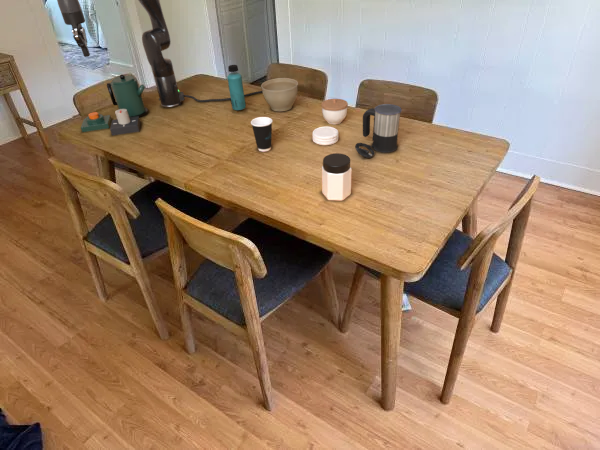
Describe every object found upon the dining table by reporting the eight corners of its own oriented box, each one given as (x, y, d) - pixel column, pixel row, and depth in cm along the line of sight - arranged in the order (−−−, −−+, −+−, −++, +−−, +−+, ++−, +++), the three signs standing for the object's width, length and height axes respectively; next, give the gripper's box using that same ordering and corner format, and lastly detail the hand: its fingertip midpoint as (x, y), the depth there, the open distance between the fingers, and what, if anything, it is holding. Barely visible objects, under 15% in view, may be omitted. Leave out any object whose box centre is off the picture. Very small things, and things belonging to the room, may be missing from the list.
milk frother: (399, 143, 153) (403, 104, 144) (392, 163, 142) (396, 122, 133) (361, 139, 157) (363, 101, 148) (352, 158, 146) (353, 119, 137)
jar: (334, 183, 133) (334, 149, 126) (355, 191, 129) (356, 157, 122) (317, 195, 128) (316, 161, 121) (338, 204, 124) (338, 169, 116)
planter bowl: (278, 99, 195) (276, 75, 189) (306, 105, 187) (305, 81, 181) (256, 110, 185) (253, 86, 178) (284, 117, 177) (282, 92, 171)
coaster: (342, 136, 160) (342, 127, 158) (332, 147, 153) (332, 138, 151) (318, 132, 164) (318, 124, 162) (308, 143, 157) (308, 134, 155)
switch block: (111, 119, 185) (108, 111, 183) (109, 128, 177) (106, 119, 175) (86, 123, 183) (82, 114, 181) (82, 132, 176) (79, 123, 173)
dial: (118, 121, 176) (114, 109, 172) (130, 119, 176) (126, 107, 173) (118, 125, 172) (114, 113, 169) (130, 123, 173) (126, 111, 170)
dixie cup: (255, 144, 158) (251, 117, 152) (275, 143, 158) (273, 116, 151) (253, 154, 152) (249, 126, 145) (274, 153, 152) (271, 125, 145)
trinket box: (343, 127, 166) (344, 105, 160) (318, 125, 169) (318, 103, 164) (349, 117, 174) (350, 95, 168) (325, 115, 177) (325, 93, 171)
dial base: (140, 122, 181) (138, 115, 179) (139, 131, 173) (137, 124, 171) (114, 126, 179) (112, 119, 177) (112, 135, 171) (109, 128, 169)
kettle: (158, 109, 192) (148, 70, 181) (145, 120, 182) (133, 79, 171) (123, 108, 195) (111, 69, 184) (109, 119, 185) (94, 79, 174)
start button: (100, 115, 180) (98, 111, 179) (98, 118, 177) (97, 115, 176) (90, 116, 179) (88, 112, 178) (89, 120, 176) (87, 116, 175)
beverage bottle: (247, 107, 188) (242, 62, 176) (245, 113, 183) (238, 67, 171) (234, 108, 189) (227, 63, 177) (230, 113, 184) (223, 68, 171)
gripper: (64, 7, 164) (80, 53, 175) (57, 14, 154) (74, 61, 165) (83, 6, 166) (98, 51, 176) (78, 11, 155) (94, 59, 166)
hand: (87, 56), depth 170 cm, fingers closed
